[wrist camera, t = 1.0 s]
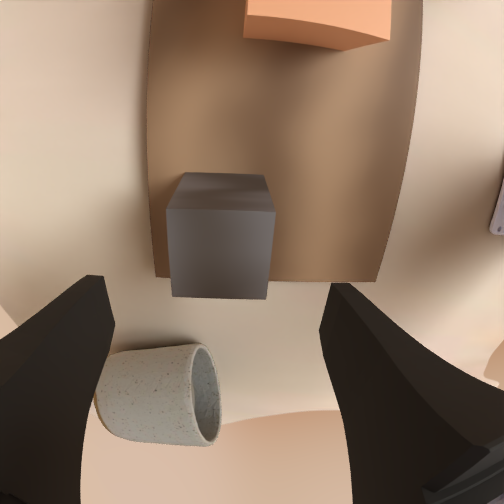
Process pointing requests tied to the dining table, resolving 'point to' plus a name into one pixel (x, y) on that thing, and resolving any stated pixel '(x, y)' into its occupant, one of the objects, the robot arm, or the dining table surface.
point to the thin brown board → (273, 150)
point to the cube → (319, 22)
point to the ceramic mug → (161, 396)
